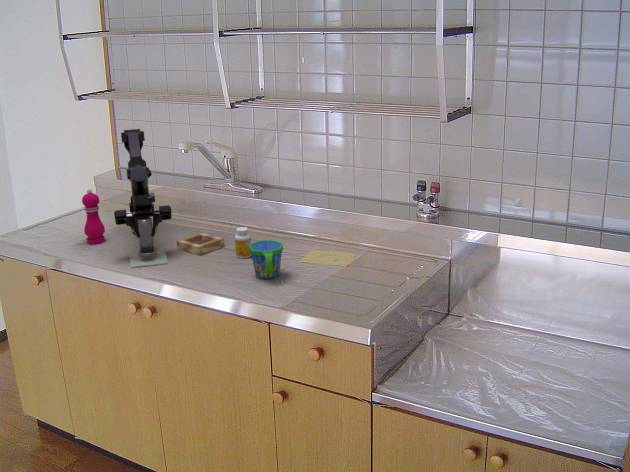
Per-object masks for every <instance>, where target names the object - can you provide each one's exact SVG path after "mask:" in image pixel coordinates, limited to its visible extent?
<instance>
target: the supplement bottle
mask: <svg viewBox="0 0 630 472" xmlns="http://www.w3.org/2000/svg"><path fill="white" fill-rule="evenodd" d="M234 243H235V244H234V246H235V257H236V258H239V259H247V258H250V257H252V255H251V253H250V250H249V246H250V245H251V244H252V238H251V234H250V233H249V228H248V227H246V226H241V227H237V228H236V234H235V236H234Z"/></svg>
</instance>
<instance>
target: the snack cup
mask: <svg viewBox="0 0 630 472" xmlns="http://www.w3.org/2000/svg"><path fill="white" fill-rule="evenodd" d="M249 250H250V253H251V260H252V265H253V269H254V275H255V276H256V277H257V278H258V279H263V280H271V279H274V278H277V277H279V275H280V270H281V262H282V253H283V251H284V244H283V243H282V242H281V241H278V240H274V239H273V240H272V239H266V240H265V239H264V240H258V241H254V242H251V245H250V246H249Z"/></svg>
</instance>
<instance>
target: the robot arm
mask: <svg viewBox="0 0 630 472" xmlns="http://www.w3.org/2000/svg"><path fill="white" fill-rule="evenodd" d="M120 137H121V143H123V145H124V148H125V151H127V153H128V154H129V160H128V162H127V168H126V177H127V180H129V182H130V187H131V196H130V202H129V203H128V204H129V211H127V209H125V208H124V209H116V210H115V211H114V212H113V214H114V215H113V216H114V222H115V225H117V226H120V225H125V226H126V227H130V229H131V230H132V231H133V232H132V235H135V236H136V238H137V239H139V236H138V228H137V219H138V218H141V217H150V218H152V229H153V238H154V237H155V236H156V234H157V233H156V232H157V229H158V227H159V225H160V223H162V222H163V221H170V220H171V219H172V211H173V210H172V207H171V205H169V204H168V205H159V206H158V209H156V210H155V204H154V203H156V198H155V197H156V196H155V192H150V190H149V189H150V188H149V178H151V176H153V175H152V170H151V169H150V168H149V167H148V166H147V162H146V160H145V159H144V158H143V157H142V156H143V155H142V149H143V146H144V142H145V141H146V139H145V138H146V137H145V131H143V130H141V129H140V128H137V129H136V128H135V129H134V128H133V129H123V132H120Z"/></svg>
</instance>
